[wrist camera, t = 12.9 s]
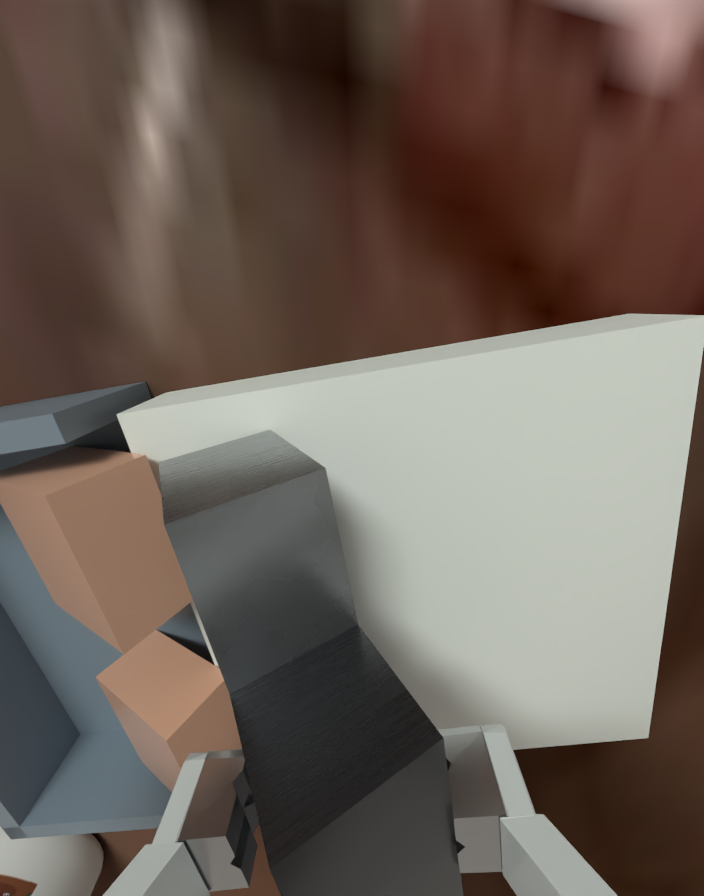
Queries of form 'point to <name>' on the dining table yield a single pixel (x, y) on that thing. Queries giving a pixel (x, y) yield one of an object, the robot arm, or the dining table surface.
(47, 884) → the milk bottle
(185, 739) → the tile back
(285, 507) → the two-tone stepped block
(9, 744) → the tray
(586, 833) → the dining table surface
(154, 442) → the board
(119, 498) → the tile front
